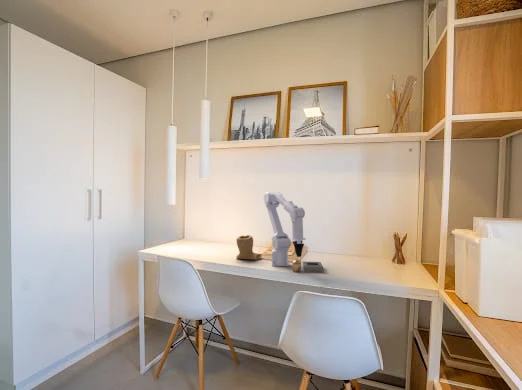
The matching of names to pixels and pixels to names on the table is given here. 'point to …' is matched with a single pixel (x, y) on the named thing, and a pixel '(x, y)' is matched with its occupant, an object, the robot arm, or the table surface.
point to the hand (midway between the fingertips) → (298, 255)
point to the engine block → (312, 267)
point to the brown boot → (246, 248)
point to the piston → (296, 265)
